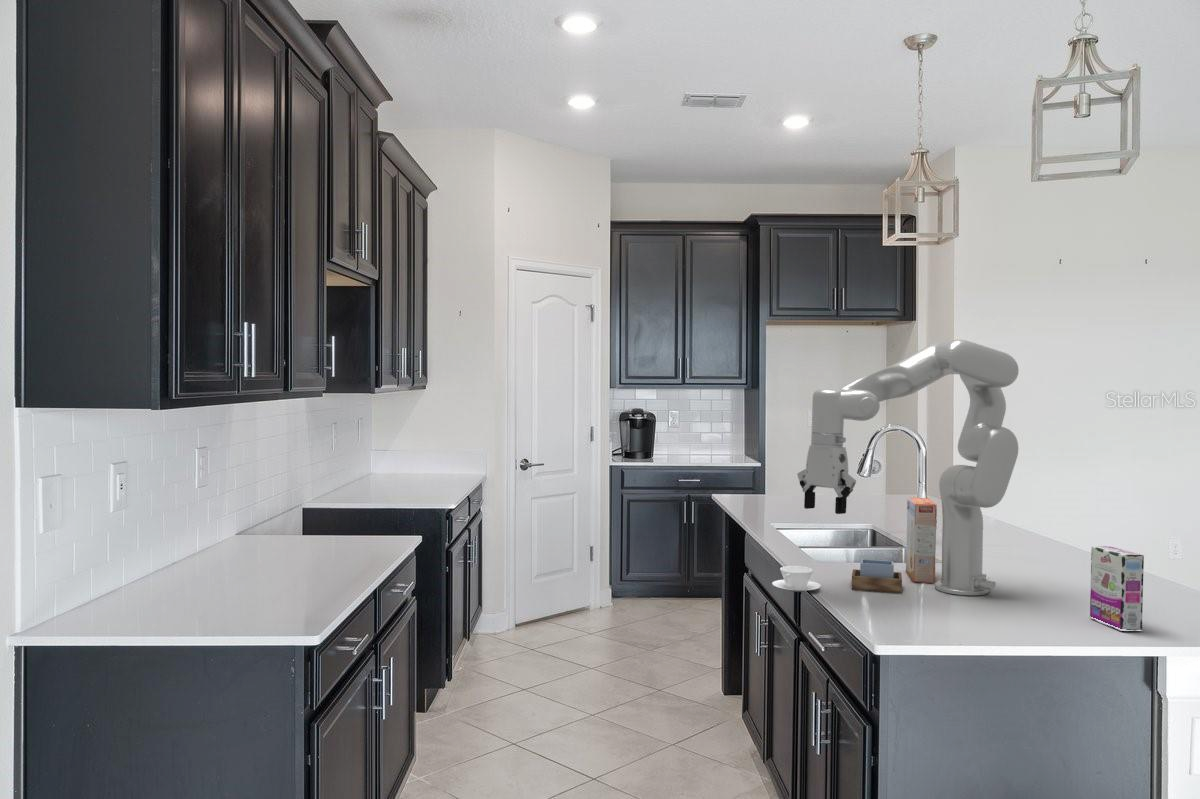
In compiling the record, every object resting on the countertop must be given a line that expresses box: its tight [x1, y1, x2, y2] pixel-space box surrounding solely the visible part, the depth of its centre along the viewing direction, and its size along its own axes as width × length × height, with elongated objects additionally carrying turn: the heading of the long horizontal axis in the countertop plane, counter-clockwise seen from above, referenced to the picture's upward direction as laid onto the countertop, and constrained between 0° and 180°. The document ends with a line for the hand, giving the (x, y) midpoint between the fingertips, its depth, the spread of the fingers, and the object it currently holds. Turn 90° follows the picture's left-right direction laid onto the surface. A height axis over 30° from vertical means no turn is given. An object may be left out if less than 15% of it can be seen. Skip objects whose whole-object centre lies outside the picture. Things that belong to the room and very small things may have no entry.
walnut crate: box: [851, 568, 903, 594], centre depth 230 cm, size 12×9×4 cm
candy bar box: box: [1089, 545, 1145, 631], centre depth 196 cm, size 11×5×16 cm, turn 5°
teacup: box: [771, 565, 822, 593], centre depth 228 cm, size 12×12×5 cm
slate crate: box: [859, 558, 895, 578], centre depth 230 cm, size 8×6×6 cm
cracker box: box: [905, 497, 938, 584], centre depth 243 cm, size 14×6×21 cm, turn 168°
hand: (824, 510), depth 220 cm, fingers open, 9 cm apart
